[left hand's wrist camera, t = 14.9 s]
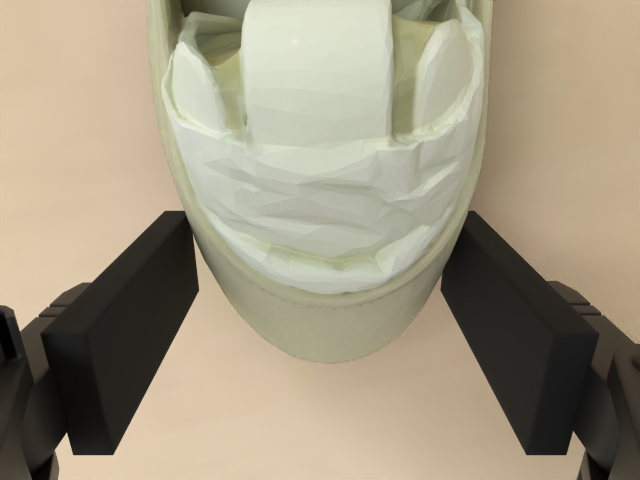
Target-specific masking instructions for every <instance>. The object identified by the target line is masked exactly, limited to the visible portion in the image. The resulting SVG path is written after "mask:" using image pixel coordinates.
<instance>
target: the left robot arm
mask: <svg viewBox="0 0 640 480" xmlns="http://www.w3.org/2000/svg"><path fill="white" fill-rule="evenodd" d="M198 292H199V285H198V276H197V267H196V259H195V250H194V241H193V232H192V230H191V227H190V224H189V221H188V218H187V215H186V213H185V211H165V212H164V213H163V214H161V215H160V216H159V217H158V218H157V219H156V220H155V221H154V222H153V223H152V224H151V225H150V226H149V227H148V228H147V229H146V230H145V231H144V232H143V233H142V234H141V235H140V236H139V237H138V238H137V239H136V240H135V241H134V242H133V243H132V244H131V245H130V246H129V247H128V248H127V249H126V250H125V251H124V252H123V253H122V254H121V255H120V256H119V257H118V258H117V259H116V260H115V261H114V262H112V263H111V264H110V265H109V266H108V267H107V268H106V269H105V270H104V271H103V272H102V273H101V274H100V275H99V276H98V277H97V278H96V279H95V280H94V281H93V282H92V283H81V284H79V285H77V286H75V287H73V288H71V289H69V290H68V291H66V292H64V293H62V294H61V295H60V296H59V297H58V298H57V299H56V300H55V301H53V302H52V303H51V304H50V307H47V308H46V309H45V310H44V311H42V312H41V313H40V314H39V317H36V318H35V319H34V320H33V321H31V322H30V323H29V324H28V325H27V326H26V327H25V328H24V329H23V330H22V331H19V327H18V324H17V320H16V317H15V314H14V310H12V309H11V308H9V307H7V306H2V305H0V480H58V475H59V465H58V460H57V456H56V453H55V449H56V447H57V446H58V444H59V443H60V441H61V440H62V439H63V437H64V436H65V434H66V433H67V434H68V437H69V441H70V445H71V448H72V452H73V455H113V454H114V452H115V451H116V449H117V447H118V445H119V443H120V441H121V439H122V437H123V435H124V433H125V431H126V429H127V428H128V426H129V424H130V422H131V420H132V418H133V416H134V414H135V412H136V410H137V408H138V407H139V405H140V403H141V401H142V399H143V397H144V395H145V393H146V391H147V389H148V387H149V385H150V384H151V382H152V380H153V378H154V376H155V374H156V372H157V370H158V368H159V366H160V364H161V362H162V361H163V359H164V357H165V355H166V353H167V351H168V349H169V347H170V345H171V343H172V341H173V339H174V338H175V336H176V334H177V332H178V330H179V328H180V326H181V324H182V322H183V320H184V318H185V316H186V315H187V313H188V311H189V309H190V307H191V305H192V303H193V301H194V299H195V297H196V295H197V293H198ZM441 292H442V294H443V296H444V298H445V300H446V302H447V304H448V306H449V308H450V309H451V311H452V313H453V315H454V317H455V319H456V321H457V323H458V325H459V327H460V329H461V331H462V332H463V334H464V336H465V338H466V340H467V342H468V344H469V346H470V348H471V350H472V352H473V354H474V355H475V357H476V359H477V361H478V363H479V365H480V367H481V369H482V371H483V373H484V375H485V376H486V378H487V380H488V382H489V384H490V386H491V388H492V390H493V392H494V394H495V396H496V398H497V399H498V401H499V403H500V405H501V407H502V409H503V411H504V413H505V415H506V417H507V419H508V421H509V422H510V424H511V426H512V428H513V430H514V432H515V434H516V436H517V438H518V440H519V442H520V444H521V445H522V447H523V449H524V451H525V453H526V455H566V454H567V451H568V447H569V443H570V440H571V436H572V432H573V431H574V432H575V434H576V435H577V437H578V438H579V440H580V441H581V442H582V444H583V445H584V447H585V448H586V449H585V453H584V456H583V459H582V463H581V466H580V470H579V473H578V476H577V480H640V344H635V343H634V342H633V341H632V340H631V339H629V338H628V337H627V336H626V335H625V334H624V333H623V332H622V331H621V330H619V329H618V328H617V327H616V326H615V325H614V324H613V323H612V322H611V321H609V320H608V319H607V318H606V317H605V316H601V312H599V311H598V310H597V309H596V308H595V307H594V306H590V303H589V302H588V301H587V300H586V299H585V298H584V297H583V296H582V295H581V294H580V293H578V292H577V291H576V290H574V289H572V288H570V287H568V286H566V285H564V284H562V283H560V282H558V281H546V280H544V279H543V278H542V277H541V276H540V275H539V274H538V273H537V272H536V271H535V270H534V269H533V268H532V267H531V266H530V265H529V264H528V263H527V262H526V261H525V260H524V259H523V258H522V257H521V256H520V255H519V254H518V253H517V252H516V251H515V250H514V249H513V248H512V247H511V246H510V245H509V244H508V243H507V242H506V241H505V240H504V239H503V238H502V237H501V236H500V235H499V234H498V233H497V232H496V231H494V230H493V229H492V228H491V227H490V226H489V225H488V224H487V223H486V222H485V221H484V220H483V219H482V218H481V217H480V216H479V215H478V214H477V213H476V212H475V211H468V214H467V217H466V219H465V222H464V224H463V227H462V229H461V231H460V234H459V236H458V239H457V241H456V243H455V246H454V248H453V250H452V253H451V255H450V257H449V259H448V261H447V263H446V265H445V267H444V269H443V273H442V282H441Z"/></svg>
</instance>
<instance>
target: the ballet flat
mask: <svg viewBox="0 0 640 480" xmlns="http://www.w3.org/2000/svg"><path fill="white" fill-rule="evenodd" d="M492 12H493V0H147V19H148V41H149V62H150V71H151V80H152V89H153V97H154V103H155V108H156V114H157V119H158V125H159V130H160V133H161V137H162V141H163V145H164V149H165V153H166V157H167V161H168V165H169V168H170V171H171V174H172V176H173V179H174V182H175V185H176V188H177V191H178V193H179V196H180V199H181V202H182V204H183V207H184V210H185V213H186V215H187V218H188V221H189V224H190V227H191V230H192V232H193V235H194V238H195V240H196V242H197V245H198V247H199V249H200V251H201V253H202V256H203V258H204V260H205V262H206V263H207V265H208V267H209V268H210V270H211V272H212V273H213V275H214V277H215V279H216V280H217V282H218V284H219V285H220V287H221V289H222V290H223V292H224V294H225V295H226V297H227V298H228V300H229V301H230V303H231V304H232V306H233V307H234V308H235V309H236V311H237V312H238V313H239V314H240V316H241V317H242V318H243V319H244V320H245V321H246V322H247V323H248V324H249V325H250V326H251V327H252V328H253V329H254V330H255V331H256V332H257V333H258V334H259V335H261V336H262V337H263V338H264V339H265V340H267V341H268V342H269V343H270V344H272V345H274V346H275V347H277V348H279V349H280V350H282V351H284V352H285V353H287V354H289V355H291V356H294V357H296V358H299V359H302V360H306V361H311V362H318V363H340V362H346V361H353V360H356V359H359V358H362V357H365V356H367V355H370V354H372V353H374V352H376V351H378V350H380V349H381V348H383V347H384V346H386V345H387V344H389V343H390V342H391V341H392V340H394V339H395V338H396V337H398V336H399V335H400V334H401V333H402V331H403V330H404V329H405V328H406V327H407V326H408V325H409V324H410V323H411V322H412V320H413V319H414V318H415V317H416V316H417V315H418V314H419V312H420V310H421V309H422V307H423V306H424V304H425V302H426V301H427V299H428V297H429V295H430V293H431V291H432V290H433V288H434V286H435V285H436V283H437V281H438V279H439V278H440V276H441V274H442V272H443V269H444V267H445V265H446V263H447V261H448V259H449V257H450V255H451V253H452V250H453V248H454V246H455V243H456V241H457V239H458V236H459V234H460V231H461V229H462V227H463V224H464V222H465V219H466V217H467V214H468V210H469V206H470V203H471V200H472V198H473V195H474V192H475V188H476V185H477V182H478V178H479V175H480V171H481V166H482V160H483V155H484V148H485V137H486V126H487V111H488V88H489V65H490V45H491V29H492Z"/></svg>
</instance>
